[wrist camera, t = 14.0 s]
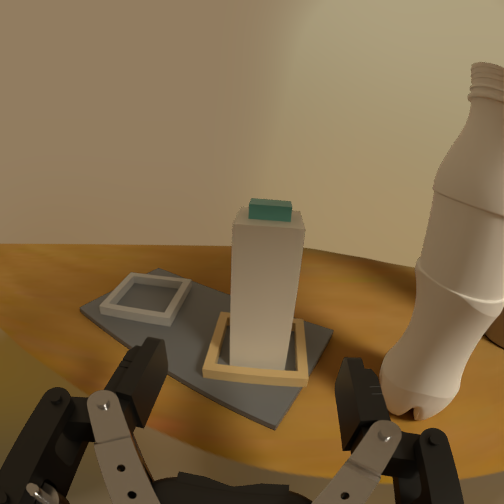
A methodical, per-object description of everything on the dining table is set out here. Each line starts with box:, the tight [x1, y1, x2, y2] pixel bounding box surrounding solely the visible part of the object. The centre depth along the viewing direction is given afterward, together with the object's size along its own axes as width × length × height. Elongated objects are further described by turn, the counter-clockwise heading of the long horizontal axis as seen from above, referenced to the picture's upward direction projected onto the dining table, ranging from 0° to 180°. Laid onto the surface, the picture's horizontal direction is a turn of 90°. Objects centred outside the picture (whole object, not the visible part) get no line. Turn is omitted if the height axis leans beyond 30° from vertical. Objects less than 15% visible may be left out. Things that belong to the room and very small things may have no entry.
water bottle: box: [379, 62, 504, 420], centre depth 15 cm, size 7×7×25 cm
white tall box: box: [230, 198, 305, 370], centre depth 22 cm, size 4×4×13 cm
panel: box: [80, 268, 334, 430], centre depth 28 cm, size 13×25×2 cm, turn 60°
